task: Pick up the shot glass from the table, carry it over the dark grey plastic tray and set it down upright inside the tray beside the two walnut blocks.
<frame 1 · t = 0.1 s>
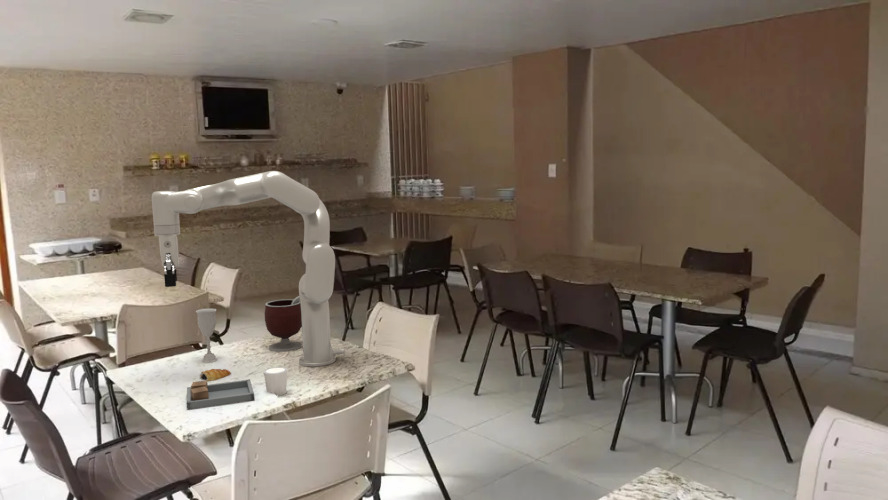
hand: (171, 284, 207), 31 cm above the table, tool pointing down, fingers open, 9 cm apart
chalice: (209, 360, 231), on the table
mate gourd: (287, 347, 247), on the table
tray: (220, 400, 190), on the table
walnut block A: (200, 403, 185), point 1 cm above the table, touching tray
walnut block B: (200, 396, 191), point 1 cm above the table, touching tray
shot glass: (276, 393, 196), on the table
pastry: (214, 381, 209), on the table
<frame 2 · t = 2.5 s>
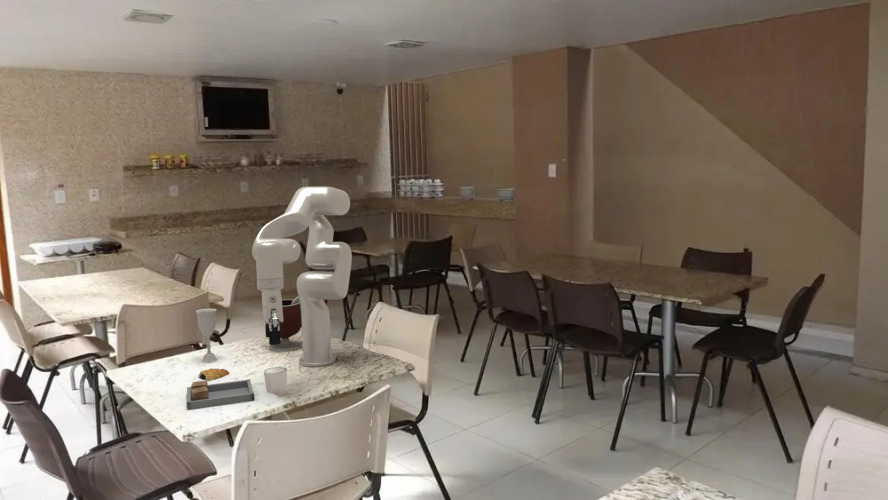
hand: (273, 340, 193), 16 cm above the table, tool pointing down, fingers open, 9 cm apart
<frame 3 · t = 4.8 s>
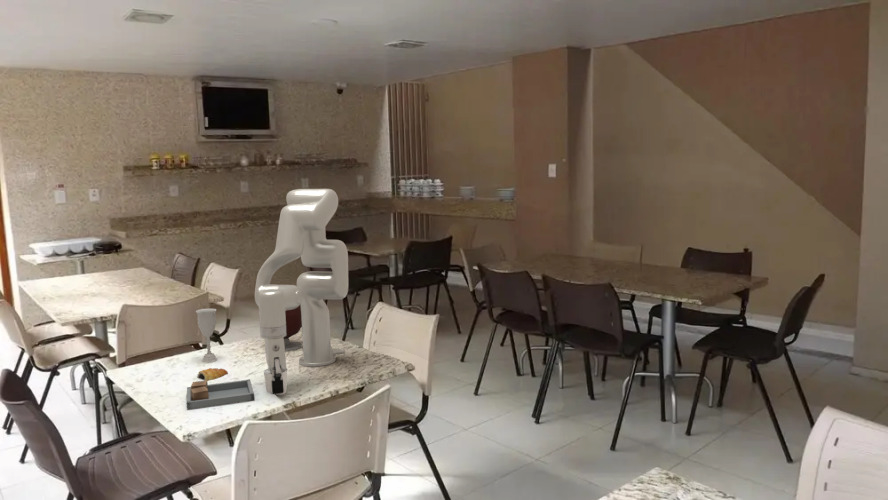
hand: (276, 389, 196), 1 cm above the table, tool pointing down, fingers closed on shot glass, 6 cm apart
shot glass: (276, 393, 196), on the table, touching gripper
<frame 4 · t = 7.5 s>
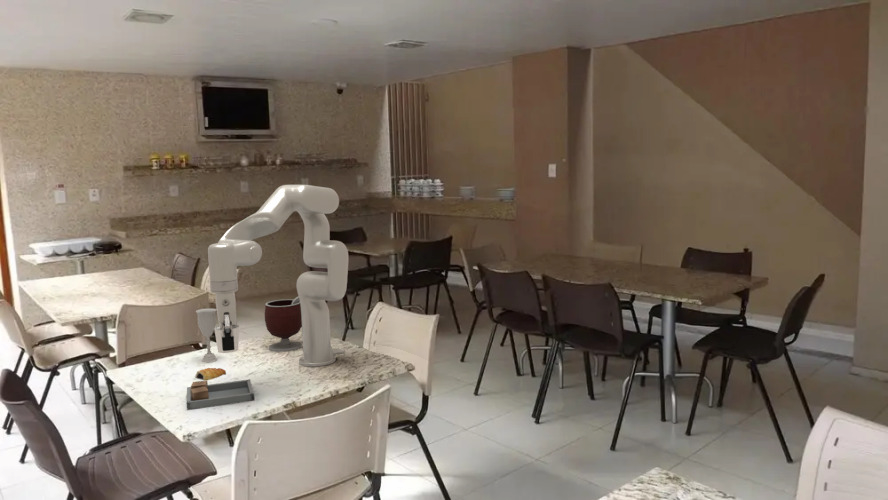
hand: (227, 346, 189), 16 cm above the table, tool pointing down, fingers closed on shot glass, 6 cm apart
shot glass: (228, 351, 189), point 14 cm above the table, touching gripper
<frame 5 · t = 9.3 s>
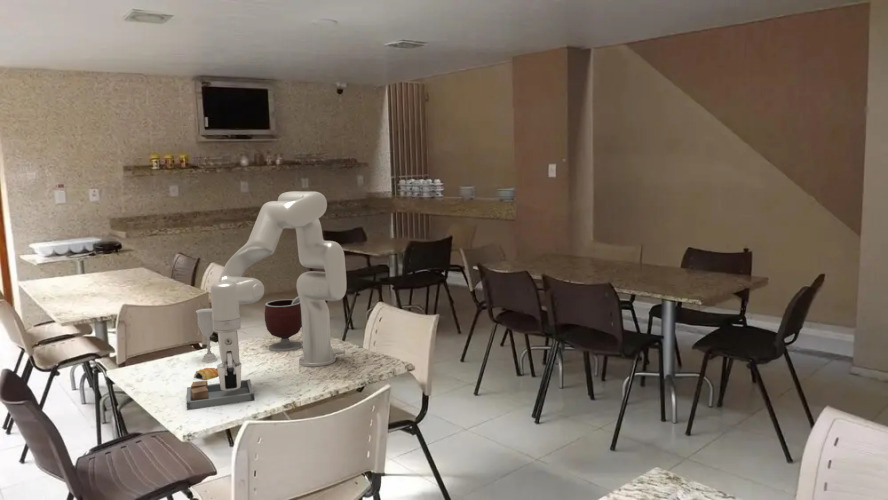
hand: (230, 384, 191), 4 cm above the table, tool pointing down, fingers closed on shot glass, 6 cm apart
shot glass: (230, 388, 191), point 3 cm above the table, touching gripper
when the fingers open (4 cm above the table, at t = 10.4 s): shot glass drops 2 cm, resting on tray.
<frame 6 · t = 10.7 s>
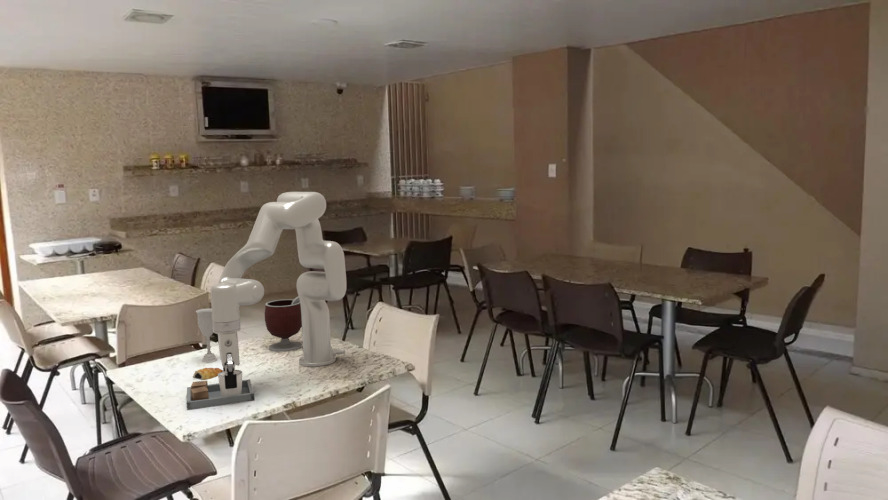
hand: (230, 383, 191), 5 cm above the table, tool pointing down, fingers open, 9 cm apart
shot glass: (231, 396, 191), point 1 cm above the table, touching tray
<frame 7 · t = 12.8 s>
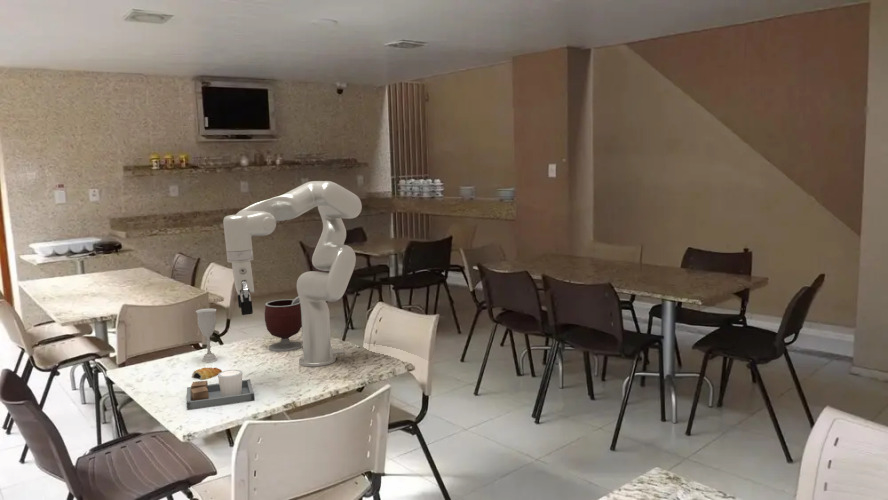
hand: (245, 310, 199), 24 cm above the table, tool pointing down, fingers open, 9 cm apart
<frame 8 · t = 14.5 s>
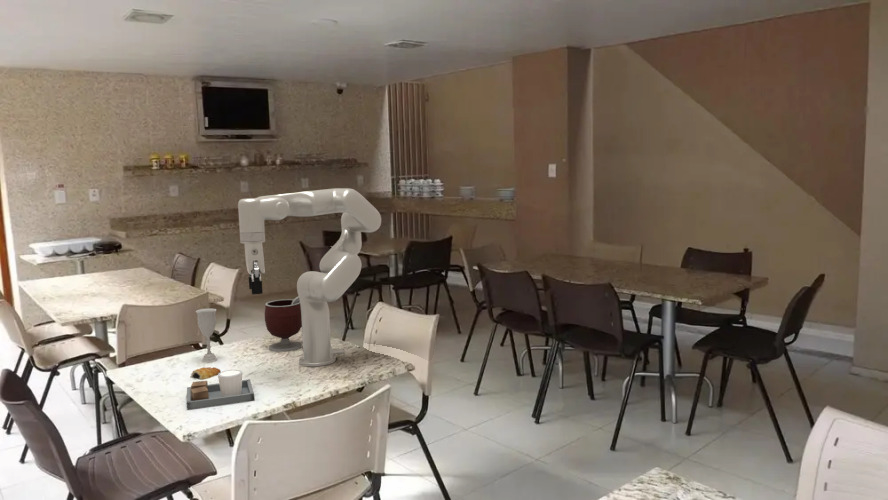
hand: (255, 291, 207), 28 cm above the table, tool pointing down, fingers open, 9 cm apart
at the end: shot glass inside the target area on the tray (3.1 cm from its centre), point 0.8 cm above the tray's base; shot glass tilted 0°; the gripper is holding nothing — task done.
